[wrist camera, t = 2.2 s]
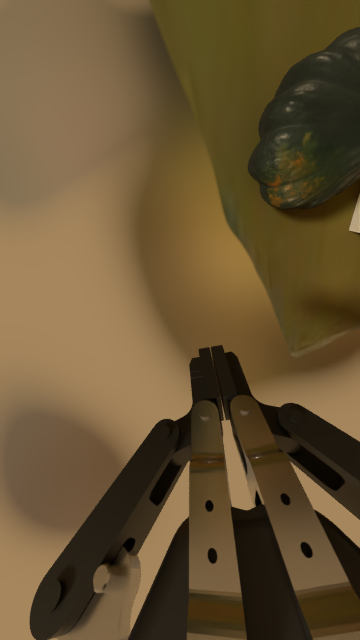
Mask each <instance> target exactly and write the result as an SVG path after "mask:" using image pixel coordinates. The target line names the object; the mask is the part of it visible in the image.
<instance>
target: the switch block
mask: <svg viewBox="0 0 360 640" xmlns="http://www.w3.org/2000/svg"><path fill="white" fill-rule="evenodd" d="M349 231H353V232H358V233H360V194H359V197H358V201H357V204H356V208H355V211H354V214H353V218H352V221H351V225H350V228H349Z"/></svg>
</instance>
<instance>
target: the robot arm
mask: <svg viewBox="0 0 360 640" xmlns="http://www.w3.org/2000/svg"><path fill="white" fill-rule="evenodd" d="M211 351H212V357H211V353H210V348H209V347H207V348H202V349H199V356H200V357H197V358H192V360H191V362H190V365H189V366H190V376H191V388H192V399H193V404H192V408H191V410H190V411H189V412H188V414H187V415H185V416H184V417H182V418H180V419H178V420H176V421H173V420H171V419H163V420H161V421H159V422H158V423H157V424H156V425H155V426H154V428H153V429H152V430H151V432H150V433H149V434H148V436H147V437H146V439H145V440H144V441H143V443H142V444H141V445H140V447H139V448H138V450H137V451H136V452H135V454H134V455H133V456H132V458H131V459H130V461H129V462H128V463H127V465H126V466H125V467H124V469H123V470H122V471H121V473H120V474H119V475H118V477H117V478H116V480H115V481H114V482H113V484H112V485H111V486H110V488H109V489H108V491H107V492H106V493H105V495H104V496H103V497H102V499H101V500H100V501H99V503H98V504H97V506H96V507H95V508H94V510H93V511H92V512H91V514H90V515H89V517H88V518H87V519H86V521H85V522H84V523H83V525H82V526H81V527H80V529H79V530H78V532H77V533H76V534H75V536H74V537H73V538H72V540H71V541H70V542H69V544H68V545H67V546H66V548H65V549H64V551H63V552H62V553H61V555H60V556H59V558H58V559H57V560H56V561H55V563H54V564H53V566H52V567H51V568H50V570H49V571H48V572H47V574H46V575H45V577H44V578H43V580H42V582H41V583H40V585H39V587H38V589H37V592H36V594H35V597H34V600H33V603H32V607H31V612H30V630H31V633H32V635H33V637H34V638H35V639H36V640H49V639H52V638H57V639H59V640H360V548H359V547H358V546H357V545H356V544H355V543H353V541H352V540H351V539H350V538H348V537H347V536H346V535H345V534H344V533H343V532H342V531H341V530H340V529H339V528H338V527H337V526H336V525H335V524H334V523H333V522H331V521H330V520H329V519H328V518H326V517H325V516H324V515H322V514H321V513H319V512H318V511H316V510H314V509H313V507H312V505H311V503H310V501H309V499H308V497H307V495H306V493H305V491H304V489H303V487H302V485H301V483H300V481H299V479H298V477H297V475H296V473H295V471H294V469H293V467H292V465H291V462H292V463H293V464H294V465H296V466H297V467H298V468H299V469H300V470H301V471H302V472H304V473H305V474H306V475H307V476H308V477H310V478H311V479H312V480H313V481H314V482H315V483H317V484H318V485H319V486H320V487H322V488H323V489H324V490H325V491H326V492H327V493H329V494H330V495H331V496H332V497H333V498H335V499H336V500H337V501H338V502H339V503H340V504H342V505H343V506H344V507H345V508H346V509H347V510H349V511H350V512H351V513H352V514H353V515H355V516H356V517H357V518H358V519H359V520H360V442H359V441H358V440H356V439H354V438H353V437H351V436H349V435H348V434H346V433H345V432H343V431H341V430H340V429H338V428H337V427H335V426H333V425H332V424H330V423H328V422H326V421H325V420H324V419H322V418H320V417H319V416H317V415H315V414H313V413H312V412H311V411H309V410H307V409H306V408H304V407H302V406H301V405H298V404H294V403H287V404H284V405H282V406H281V407H275V406H269V405H265V404H262V403H260V402H259V401H257V400H256V399H255V398H254V397H253V395H252V394H251V391H250V389H249V386H248V384H247V381H246V378H245V376H244V373H243V371H242V368H241V366H240V363H239V360H238V358H237V356H236V355H235V354H234V353H232V352H227V353H224V349H223V347H222V345H219V346H213V347H211ZM212 358H213V361H212ZM213 364H214V366H213ZM216 378H217V379H216ZM218 387H219V388H218ZM221 400H222V403H221ZM222 405H223V409H224V413H225V418H226V420H230V422H231V426H232V432H233V437H234V440H235V443H236V446H237V449H238V453H239V456H240V459H241V462H242V465H243V469H244V472H245V476H246V479H247V484H248V488H249V492H250V495H251V498H252V502H253V505H254V508H252V509H251V510H242V509H238V508H234V507H232V504H231V497H230V489H229V483H228V475H227V468H226V461H225V453H224V445H223V429H222V423H221V421H223V420H224V419H223V410H222ZM188 461H190V465H189V517H188V518H187V519H186V520H185V521H184V522H183V523H182V524H181V526H180V527H179V528H178V530H177V532H176V533H175V535H174V537H173V539H172V542H171V544H170V546H169V548H168V550H167V553H166V555H165V557H164V559H163V562H162V564H161V566H160V568H159V571H158V573H157V575H156V577H155V580H154V582H153V584H152V586H151V588H150V591H149V593H148V595H147V597H146V600H145V602H144V604H143V606H142V609H141V611H140V613H139V615H138V618H137V620H136V622H135V624H134V627H133V629H132V631H131V633H130V616H131V610H132V606H133V602H134V599H135V597H136V594H137V591H138V588H139V584H140V577H141V567H140V561H139V558H138V556H137V554H138V552H139V550H140V549H141V547H142V545H143V543H144V541H145V539H146V538H147V535H148V534H149V532H150V530H151V528H152V526H153V525H154V523H155V521H156V519H157V517H158V516H159V514H160V512H161V510H162V508H163V506H164V505H165V503H166V501H167V499H168V497H169V495H170V493H171V492H172V490H173V488H174V486H175V484H176V483H177V481H178V479H179V477H180V475H181V473H182V471H183V470H184V468H185V466H186V464H187V462H188ZM290 461H291V462H290Z"/></svg>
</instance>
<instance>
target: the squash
mask: <svg viewBox="0 0 360 640" xmlns="http://www.w3.org/2000/svg"><path fill="white" fill-rule="evenodd" d="M259 135H260V138H261V140H260V142H259V144H258V145H257V146H256V148H255V149H254V151H253V153H252V155H251V157H250V159H249V163H248V172H249V174H250V175H251V176H252V177H253V178H254V179H255V180H257V181H259V182H260V193H261V196H262V198H263V199H264V200H265V201H266V202H267V203H268V204H270V205H272V206H274V207H276V208H279V209H292V208H300V209H309V208H314V207H316V206H318V205H320V204H322V203H324V202H325V201H327V200H328V199H330V198H331V197H333V196H334V195H336V194H338V193H340V192H342V191H343V190H345V189H346V188H348V187H349V186H351V185H352V184H353V183H355V182H356V181H357V180H358V179H359V178H360V27H357V28H354V29H351V30H348V31H346V32H345V33H343V34H341V35H340V36H339V37H337V38H336V39H335V40H334V41H333V42H332V43H331V44H330V45H329V46H328V47H327V48H326V49H325V50H323V51H320V52H317V53H314V54H311V55H309V56H307V57H306V58H304V59H303V60H301V61H300V62H298V63H297V64H295V65H293V66H292V67H291V68H290V69H289V71H288V72H287V73H286V75H285V76H284V78H283V80H282V82H281V84H280V86H279V88H278V90H277V91H276V95H275V98H274V99H273V100H272V101H271V102H270V103H269V104H268V105H267V107H266V108H265V110H264V112H263V114H262V116H261V119H260V122H259Z"/></svg>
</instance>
